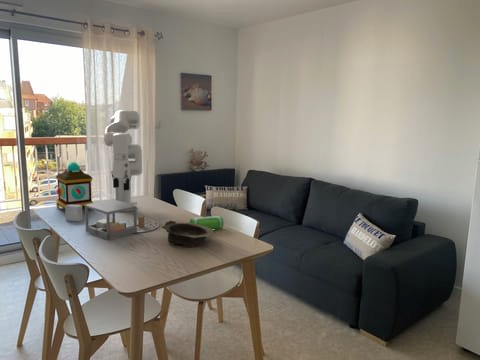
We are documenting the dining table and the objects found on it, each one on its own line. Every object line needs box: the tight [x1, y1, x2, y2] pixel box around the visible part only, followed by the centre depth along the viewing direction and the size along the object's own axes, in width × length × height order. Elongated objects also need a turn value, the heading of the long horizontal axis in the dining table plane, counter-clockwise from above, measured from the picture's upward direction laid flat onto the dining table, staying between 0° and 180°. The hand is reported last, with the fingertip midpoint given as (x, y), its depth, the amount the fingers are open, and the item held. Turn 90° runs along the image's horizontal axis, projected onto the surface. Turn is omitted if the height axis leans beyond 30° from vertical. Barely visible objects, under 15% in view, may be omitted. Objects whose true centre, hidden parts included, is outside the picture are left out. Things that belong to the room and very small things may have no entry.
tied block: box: [110, 215, 146, 233], centre depth 193 cm, size 20×6×6 cm, turn 143°
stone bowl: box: [161, 220, 214, 248], centre depth 180 cm, size 25×25×9 cm
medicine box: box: [64, 205, 83, 223], centre depth 207 cm, size 8×4×9 cm, turn 84°
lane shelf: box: [84, 199, 138, 241], centre depth 190 cm, size 17×20×14 cm
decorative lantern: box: [55, 161, 94, 210], centre depth 228 cm, size 20×20×30 cm
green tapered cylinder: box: [189, 215, 224, 230], centre depth 200 cm, size 18×7×8 cm, turn 113°
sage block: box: [95, 218, 113, 229], centre depth 193 cm, size 6×6×5 cm
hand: (121, 188), depth 196 cm, fingers open, 9 cm apart
